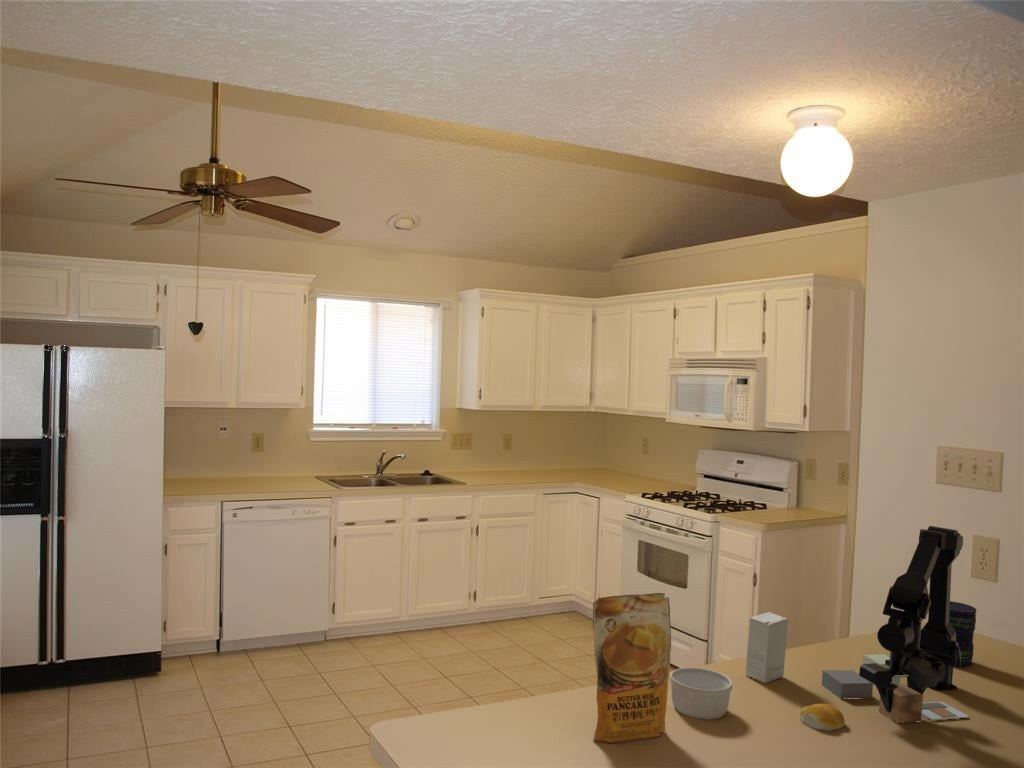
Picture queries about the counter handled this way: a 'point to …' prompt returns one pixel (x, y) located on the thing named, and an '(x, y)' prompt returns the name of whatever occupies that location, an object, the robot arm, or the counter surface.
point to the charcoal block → (846, 684)
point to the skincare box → (766, 647)
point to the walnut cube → (904, 705)
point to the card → (941, 711)
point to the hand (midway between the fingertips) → (900, 710)
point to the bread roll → (822, 717)
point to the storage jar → (963, 630)
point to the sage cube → (879, 663)
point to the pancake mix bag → (631, 666)
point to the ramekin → (700, 692)
